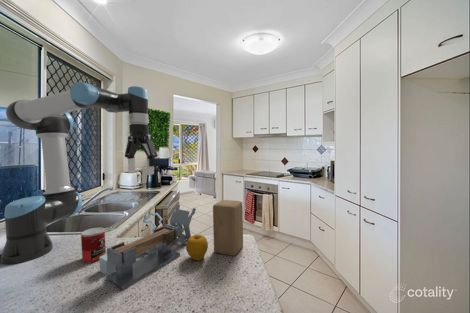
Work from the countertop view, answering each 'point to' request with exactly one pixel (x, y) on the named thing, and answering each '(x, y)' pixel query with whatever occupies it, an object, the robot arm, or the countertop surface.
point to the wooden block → (228, 227)
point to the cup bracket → (140, 261)
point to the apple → (197, 247)
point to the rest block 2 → (151, 250)
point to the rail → (145, 242)
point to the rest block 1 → (106, 265)
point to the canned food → (93, 244)
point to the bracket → (181, 219)
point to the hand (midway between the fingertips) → (140, 173)
